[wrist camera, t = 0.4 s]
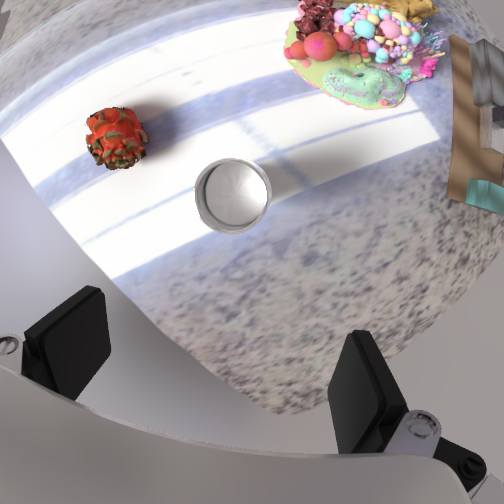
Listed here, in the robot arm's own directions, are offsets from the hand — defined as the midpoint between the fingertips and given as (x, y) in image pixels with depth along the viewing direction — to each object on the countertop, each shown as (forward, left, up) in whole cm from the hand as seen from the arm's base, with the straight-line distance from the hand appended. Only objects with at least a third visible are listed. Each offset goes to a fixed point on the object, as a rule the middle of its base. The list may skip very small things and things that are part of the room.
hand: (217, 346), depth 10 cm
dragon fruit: (-10, -21, -31) cm, 38 cm away
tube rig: (-23, +35, -30) cm, 52 cm away
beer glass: (-4, -2, -31) cm, 31 cm away
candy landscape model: (-30, +13, -31) cm, 45 cm away
